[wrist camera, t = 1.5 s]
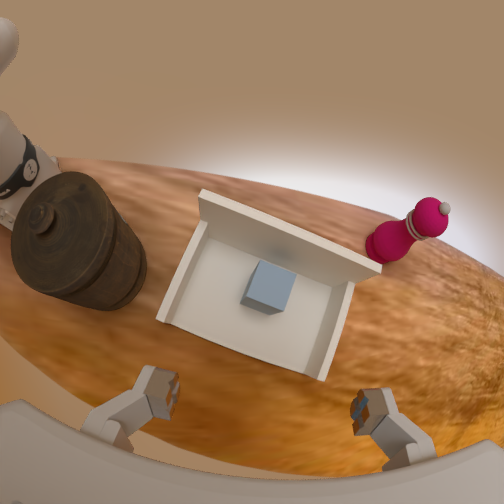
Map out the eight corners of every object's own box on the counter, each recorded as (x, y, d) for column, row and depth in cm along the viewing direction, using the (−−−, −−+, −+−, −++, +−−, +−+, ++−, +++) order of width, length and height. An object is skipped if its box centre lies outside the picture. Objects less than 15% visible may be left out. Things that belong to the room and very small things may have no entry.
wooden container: (141, 217, 44) (97, 136, 23) (154, 302, 40) (99, 272, 20) (69, 236, 41) (-1, 176, 20) (76, 317, 38) (-11, 299, 17)
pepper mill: (392, 270, 48) (466, 236, 29) (361, 262, 47) (434, 221, 28) (393, 236, 50) (460, 193, 31) (363, 226, 49) (428, 175, 30)
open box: (165, 320, 40) (141, 315, 27) (205, 230, 45) (202, 188, 32) (308, 374, 40) (346, 390, 27) (337, 284, 45) (382, 265, 32)
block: (239, 303, 41) (246, 296, 33) (251, 274, 43) (260, 259, 34) (269, 315, 41) (284, 311, 33) (280, 285, 43) (296, 274, 34)
